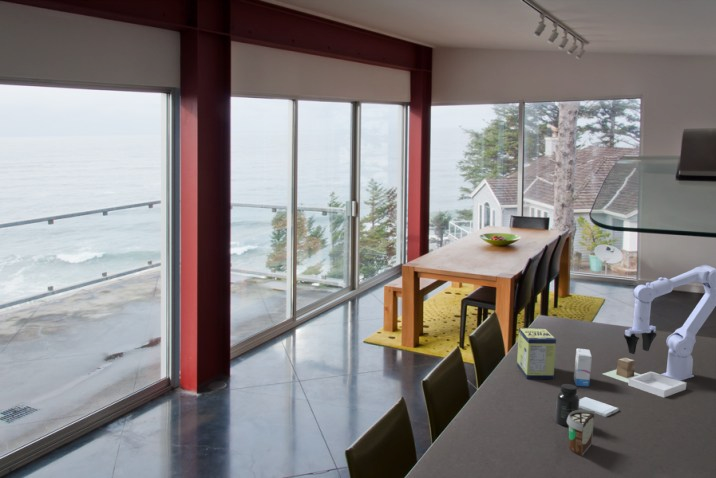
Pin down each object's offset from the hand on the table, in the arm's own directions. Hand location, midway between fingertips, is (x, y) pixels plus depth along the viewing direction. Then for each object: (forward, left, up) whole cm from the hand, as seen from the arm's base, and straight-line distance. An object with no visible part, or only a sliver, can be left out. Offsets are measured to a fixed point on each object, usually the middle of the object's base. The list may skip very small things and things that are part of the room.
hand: (638, 351), depth 268 cm
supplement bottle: (+58, +13, -10) cm, 60 cm away
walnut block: (+5, -2, -9) cm, 10 cm away
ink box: (+24, -7, -10) cm, 27 cm away
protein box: (+30, -24, -10) cm, 40 cm away
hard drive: (+40, +11, -10) cm, 43 cm away
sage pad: (+5, -2, -9) cm, 11 cm away
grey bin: (+6, +12, -9) cm, 16 cm away
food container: (+70, +26, -10) cm, 75 cm away
